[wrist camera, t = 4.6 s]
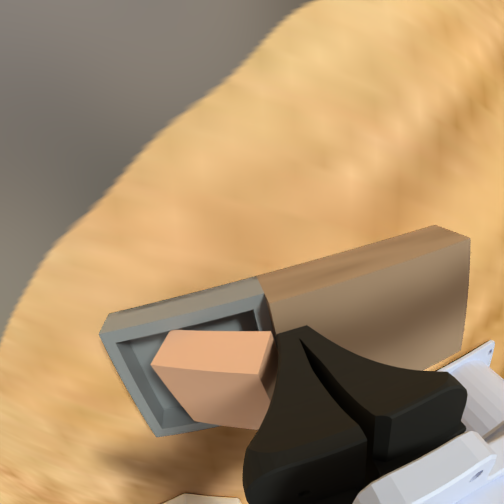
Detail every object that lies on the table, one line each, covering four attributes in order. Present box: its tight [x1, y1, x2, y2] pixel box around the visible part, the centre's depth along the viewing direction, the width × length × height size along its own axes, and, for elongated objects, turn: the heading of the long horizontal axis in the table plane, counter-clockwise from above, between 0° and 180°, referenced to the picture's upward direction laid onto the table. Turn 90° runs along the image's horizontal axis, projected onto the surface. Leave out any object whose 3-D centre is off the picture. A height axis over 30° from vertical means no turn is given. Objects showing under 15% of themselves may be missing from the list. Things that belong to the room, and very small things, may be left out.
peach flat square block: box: [150, 330, 278, 430], centre depth 13 cm, size 4×4×2 cm
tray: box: [99, 276, 277, 437], centre depth 15 cm, size 7×8×2 cm
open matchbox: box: [256, 225, 470, 371], centre depth 15 cm, size 7×10×3 cm, turn 102°
